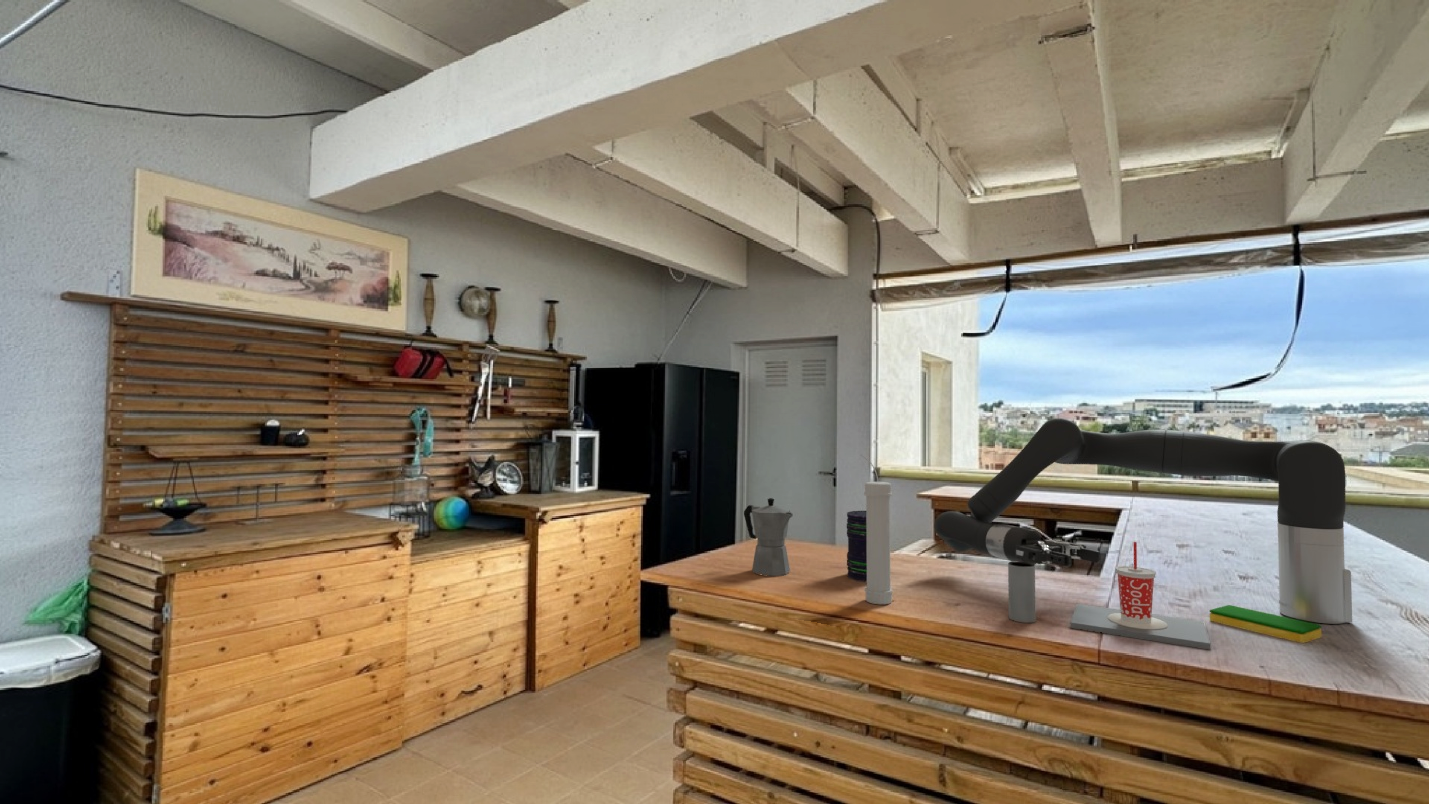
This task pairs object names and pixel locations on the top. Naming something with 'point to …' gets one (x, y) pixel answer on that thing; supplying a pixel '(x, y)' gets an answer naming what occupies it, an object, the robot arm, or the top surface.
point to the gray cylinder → (1021, 591)
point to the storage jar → (857, 545)
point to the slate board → (1142, 626)
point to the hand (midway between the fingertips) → (1085, 559)
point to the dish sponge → (1266, 623)
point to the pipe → (878, 541)
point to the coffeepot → (769, 538)
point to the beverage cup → (1135, 592)
